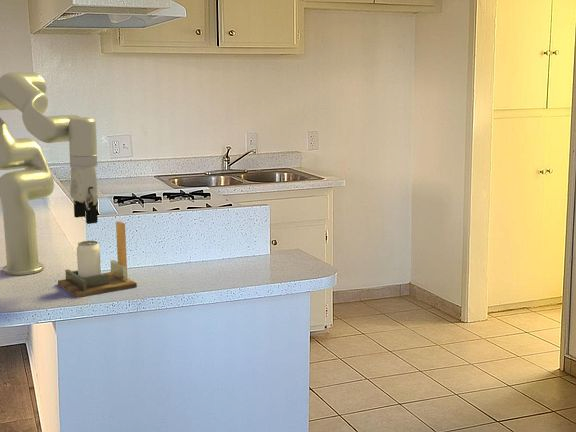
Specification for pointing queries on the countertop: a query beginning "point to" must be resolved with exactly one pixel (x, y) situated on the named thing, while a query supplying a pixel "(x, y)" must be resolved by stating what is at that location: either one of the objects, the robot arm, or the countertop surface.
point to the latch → (120, 253)
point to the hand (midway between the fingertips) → (85, 220)
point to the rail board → (113, 286)
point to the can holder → (86, 280)
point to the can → (88, 259)
